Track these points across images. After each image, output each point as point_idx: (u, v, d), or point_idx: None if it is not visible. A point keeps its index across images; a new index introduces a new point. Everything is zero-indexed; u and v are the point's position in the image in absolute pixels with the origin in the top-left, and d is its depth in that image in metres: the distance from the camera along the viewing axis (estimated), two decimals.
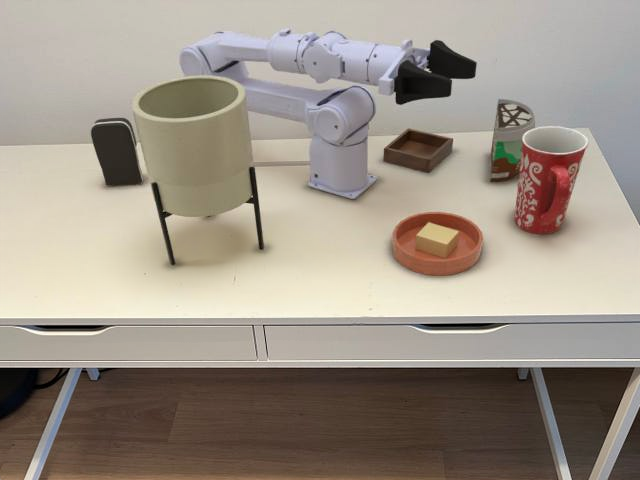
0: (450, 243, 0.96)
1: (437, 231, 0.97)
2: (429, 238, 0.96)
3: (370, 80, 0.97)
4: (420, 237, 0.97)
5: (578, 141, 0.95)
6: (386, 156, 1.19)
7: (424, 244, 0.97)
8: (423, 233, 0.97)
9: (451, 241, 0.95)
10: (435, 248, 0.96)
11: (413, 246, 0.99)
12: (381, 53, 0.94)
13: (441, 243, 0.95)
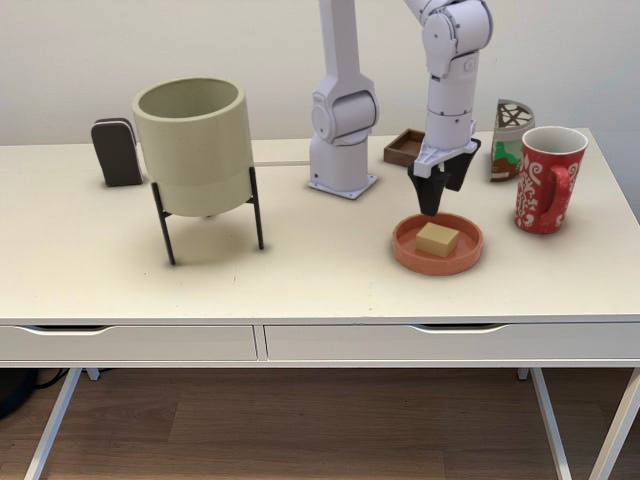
0: (450, 243, 0.96)
1: (437, 231, 0.97)
2: (429, 238, 0.96)
3: (431, 112, 0.83)
4: (420, 237, 0.97)
5: (578, 141, 0.95)
6: (386, 156, 1.19)
7: (424, 244, 0.97)
8: (423, 233, 0.97)
9: (451, 241, 0.95)
10: (435, 248, 0.96)
11: (413, 246, 0.99)
12: (460, 126, 0.83)
13: (441, 243, 0.95)
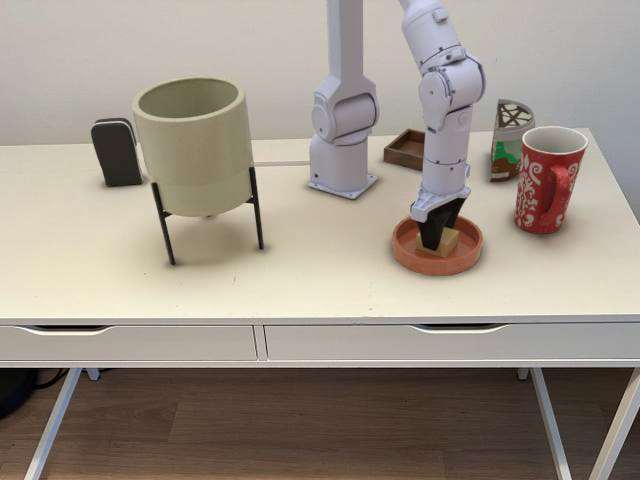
0: (450, 243, 0.96)
1: None
2: None
3: (427, 160, 0.88)
4: (420, 237, 0.97)
5: (578, 141, 0.95)
6: (386, 156, 1.19)
7: None
8: None
9: (451, 241, 0.95)
10: None
11: (413, 246, 0.99)
12: (454, 174, 0.87)
13: (441, 243, 0.95)
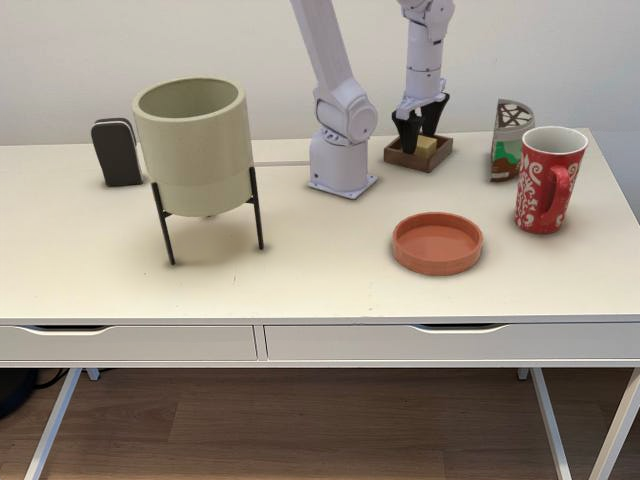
0: (430, 148, 1.17)
1: (419, 139, 1.18)
2: None
3: (409, 69, 1.08)
4: None
5: (578, 141, 0.95)
6: (386, 156, 1.19)
7: None
8: None
9: (430, 146, 1.17)
10: (417, 152, 1.17)
11: (413, 246, 0.99)
12: (431, 80, 1.08)
13: (422, 148, 1.16)
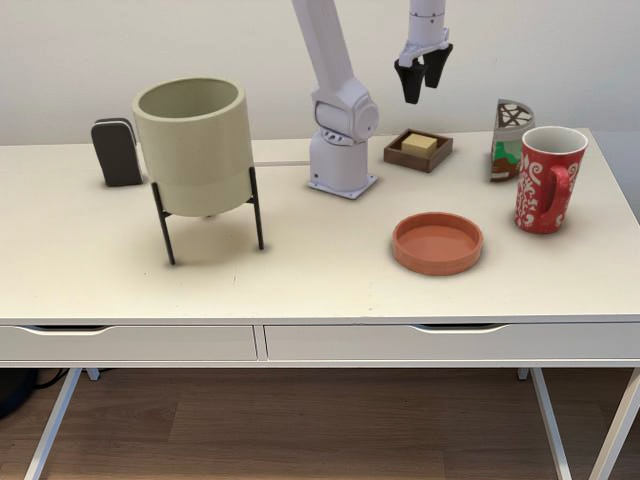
0: (430, 148, 1.17)
1: (419, 139, 1.18)
2: (412, 144, 1.17)
3: (412, 15, 1.07)
4: (405, 144, 1.18)
5: (578, 141, 0.95)
6: (386, 156, 1.19)
7: (408, 150, 1.18)
8: (407, 141, 1.18)
9: (430, 146, 1.17)
10: (417, 152, 1.17)
11: (413, 246, 0.99)
12: (434, 26, 1.07)
13: (422, 148, 1.16)
